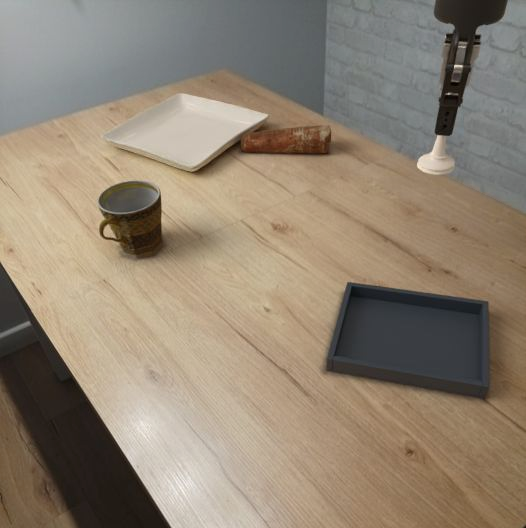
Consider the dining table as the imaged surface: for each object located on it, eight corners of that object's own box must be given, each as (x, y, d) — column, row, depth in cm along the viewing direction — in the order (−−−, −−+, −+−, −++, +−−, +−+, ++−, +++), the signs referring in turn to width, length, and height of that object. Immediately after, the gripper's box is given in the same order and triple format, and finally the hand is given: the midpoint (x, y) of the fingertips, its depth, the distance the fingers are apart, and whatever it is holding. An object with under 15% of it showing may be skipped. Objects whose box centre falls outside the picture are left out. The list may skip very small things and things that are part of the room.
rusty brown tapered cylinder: (330, 159, 107) (331, 132, 103) (239, 157, 109) (237, 131, 105) (331, 144, 111) (332, 118, 107) (244, 143, 113) (242, 118, 109)
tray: (483, 315, 73) (488, 301, 71) (483, 401, 63) (489, 387, 61) (346, 295, 78) (347, 281, 76) (325, 372, 68) (326, 358, 66)
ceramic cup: (136, 226, 93) (122, 175, 86) (182, 238, 90) (172, 186, 83) (90, 268, 86) (71, 216, 78) (139, 283, 82) (124, 230, 75)
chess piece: (414, 158, 72) (427, 82, 65) (450, 157, 72) (467, 81, 65) (420, 175, 69) (434, 97, 62) (457, 174, 69) (477, 96, 61)
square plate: (101, 152, 114) (96, 135, 111) (182, 106, 129) (179, 90, 126) (195, 183, 103) (192, 164, 100) (272, 129, 117) (271, 112, 115)
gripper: (518, -17, 49) (472, 157, 62) (514, -48, 58) (475, 110, 70) (436, -18, 51) (408, 151, 63) (445, -48, 59) (419, 106, 72)
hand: (443, 129), depth 67 cm, fingers closed on chess piece
